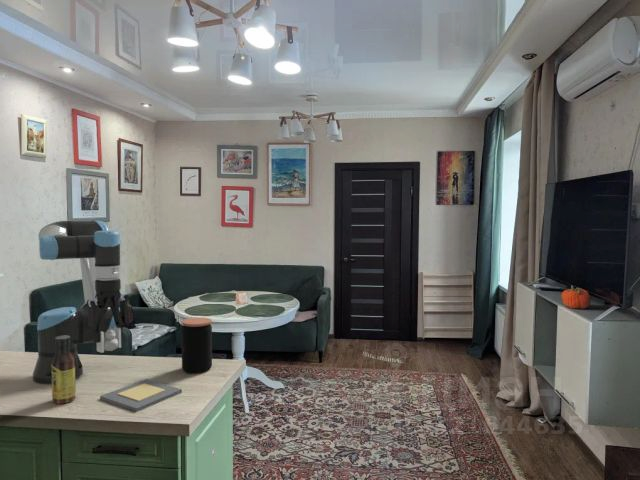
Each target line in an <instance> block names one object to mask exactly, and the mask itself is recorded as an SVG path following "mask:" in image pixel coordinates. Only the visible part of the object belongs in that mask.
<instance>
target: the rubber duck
mask: <svg viewBox="0 0 640 480" xmlns="http://www.w3.org/2000/svg"><path fill="white" fill-rule="evenodd" d="M115 337H116V334H115V332H114V331H113V329H112V328H111V327H110V329H109V330H107V331H106V332H105V338H104V351H106V352H112V351H115V350H116V349H118V340H117V339H116V338H115Z"/></svg>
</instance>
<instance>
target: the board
mask: <svg viewBox="0 0 640 480" xmlns="http://www.w3.org/2000/svg"><path fill="white" fill-rule="evenodd" d="M182 391H183V389H182V388H178V387H175V386H171V385H170V384H169V385H167V384H164V383H161V382H158V381H154V380H150V379H147V378H145V379H143V380H140V381H137V382H135V383H132V384H129V385H127V386H124V387H121V388H119V389H118V388H117V389H116V390H113V391H109V392H107V393H105V394H102V395H100V396H99V399H100V400H101V401H104V402H107V403H110V404H112V405H116V406H119V407H122V408H125V409H127V410H131V411H133V412H136V413H137V412H140V411H143V410H145V409H147V408H149V407H151V406H154V405H156V404H158V403H160V402H163V401H165V400H167V399H169V398H173V397H174V396H177V395H179V394H181V393H182Z"/></svg>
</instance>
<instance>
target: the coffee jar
mask: <svg viewBox="0 0 640 480" xmlns="http://www.w3.org/2000/svg"><path fill="white" fill-rule="evenodd" d="M211 324H212V319H211V318H209V317H190V318H186V319H182V320H181V325H182V328H181V367H182V370H183V371H184V372H185V373H187V374H201V373H203V374H204V373H206V372H208V371H210V369H211V368H212V366H213V326H212V325H211Z"/></svg>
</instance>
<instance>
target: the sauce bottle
mask: <svg viewBox="0 0 640 480" xmlns="http://www.w3.org/2000/svg"><path fill="white" fill-rule="evenodd" d="M55 343H56V352H55V355H54V358H53V361H52V363H51V368H52V384H51V396H52V397H51V398H52V401H53V403H55V404H56V405H58V404H61V405H63V404H67V403H71V402H73V401H74V400H75V398H76V394H77V393H76V390H77V389H76V378H75V362H74V361H75V359H74V356H73V354H72V353H71V351H70V336H69V335H62V336H58V337H56V338H55Z"/></svg>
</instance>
